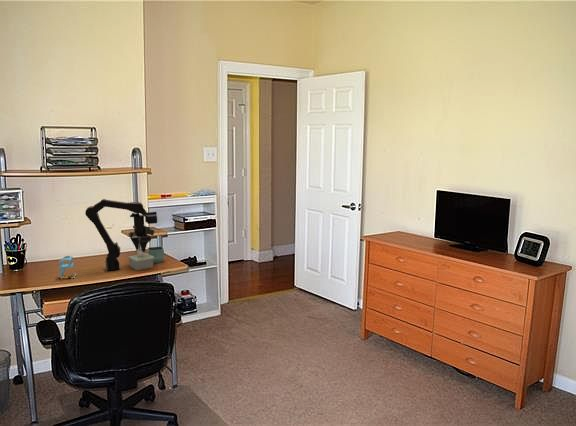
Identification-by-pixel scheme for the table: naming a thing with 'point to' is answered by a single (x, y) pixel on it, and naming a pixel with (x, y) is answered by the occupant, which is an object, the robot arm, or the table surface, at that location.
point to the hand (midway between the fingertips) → (140, 250)
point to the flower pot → (156, 253)
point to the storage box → (141, 264)
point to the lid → (140, 256)
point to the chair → (65, 266)
